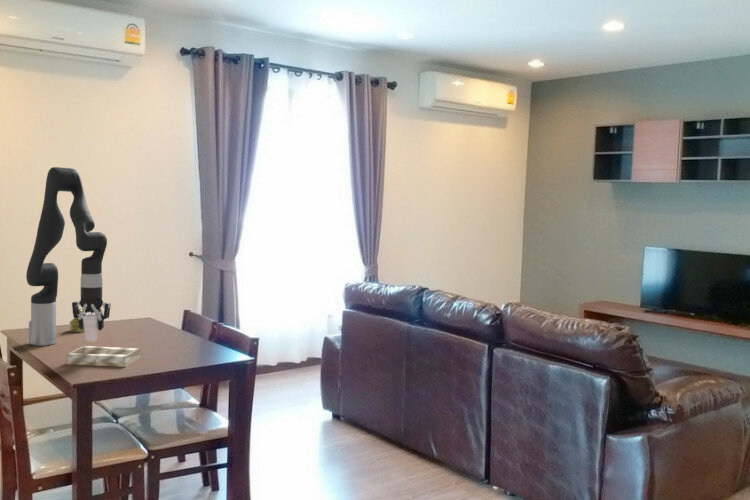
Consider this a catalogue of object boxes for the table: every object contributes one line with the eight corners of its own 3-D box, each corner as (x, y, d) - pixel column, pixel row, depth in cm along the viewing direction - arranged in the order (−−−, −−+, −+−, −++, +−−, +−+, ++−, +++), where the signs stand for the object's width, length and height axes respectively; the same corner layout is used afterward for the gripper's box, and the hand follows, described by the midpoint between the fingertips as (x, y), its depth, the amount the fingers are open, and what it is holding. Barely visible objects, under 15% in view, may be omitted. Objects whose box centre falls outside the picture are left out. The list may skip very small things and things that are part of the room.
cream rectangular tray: (66, 364, 247) (66, 354, 247) (83, 355, 261) (83, 345, 261) (125, 366, 247) (125, 356, 246) (139, 357, 261) (139, 348, 260)
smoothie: (82, 342, 249) (82, 305, 248) (81, 339, 255) (81, 302, 254) (101, 341, 252) (101, 304, 251) (99, 338, 258) (99, 302, 257)
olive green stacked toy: (75, 328, 309) (75, 307, 308) (90, 330, 308) (90, 308, 307) (66, 332, 301) (66, 309, 300) (81, 333, 300) (81, 311, 299)
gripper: (67, 285, 248) (67, 330, 250) (106, 287, 248) (106, 332, 249) (77, 283, 256) (76, 327, 257) (114, 284, 256) (114, 328, 257)
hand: (91, 329), depth 253 cm, fingers closed on smoothie, 6 cm apart
